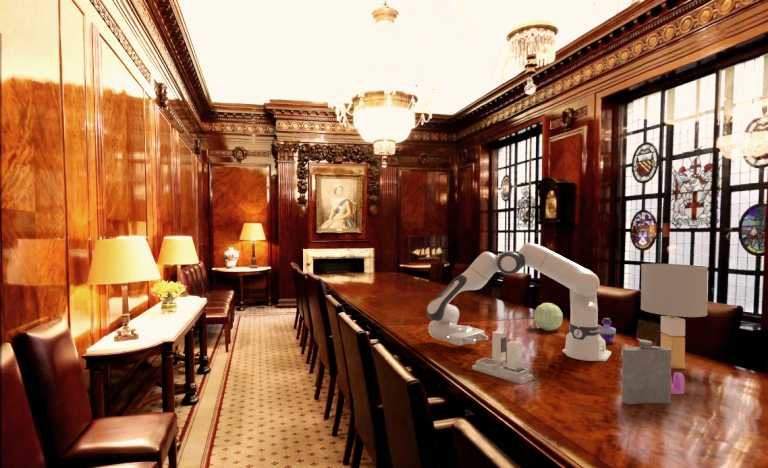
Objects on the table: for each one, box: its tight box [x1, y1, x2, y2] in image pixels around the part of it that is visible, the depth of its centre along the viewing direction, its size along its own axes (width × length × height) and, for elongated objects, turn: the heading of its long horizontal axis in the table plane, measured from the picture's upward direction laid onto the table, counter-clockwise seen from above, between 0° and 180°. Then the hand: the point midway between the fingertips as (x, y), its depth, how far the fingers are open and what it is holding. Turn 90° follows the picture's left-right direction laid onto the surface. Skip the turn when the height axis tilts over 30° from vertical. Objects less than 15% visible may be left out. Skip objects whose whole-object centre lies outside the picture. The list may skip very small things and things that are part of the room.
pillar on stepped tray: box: [471, 340, 534, 385], centre depth 165 cm, size 8×22×14 cm, turn 42°
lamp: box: [640, 263, 709, 370], centre depth 176 cm, size 23×23×42 cm
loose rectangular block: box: [491, 330, 507, 362], centre depth 183 cm, size 4×5×12 cm
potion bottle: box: [599, 317, 617, 344], centre depth 213 cm, size 9×9×12 cm
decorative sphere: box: [533, 302, 564, 332], centre depth 238 cm, size 15×15×15 cm
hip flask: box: [621, 339, 672, 405], centre depth 139 cm, size 16×4×20 cm, turn 94°
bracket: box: [671, 371, 685, 395], centre depth 152 cm, size 13×6×7 cm, turn 177°
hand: (481, 340), depth 190 cm, fingers open, 8 cm apart
